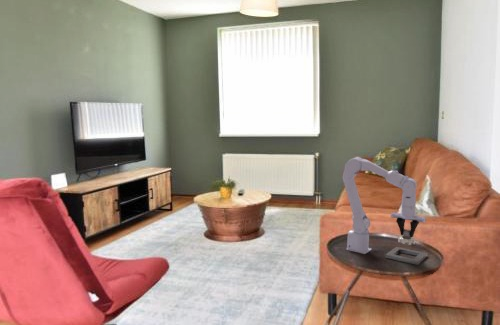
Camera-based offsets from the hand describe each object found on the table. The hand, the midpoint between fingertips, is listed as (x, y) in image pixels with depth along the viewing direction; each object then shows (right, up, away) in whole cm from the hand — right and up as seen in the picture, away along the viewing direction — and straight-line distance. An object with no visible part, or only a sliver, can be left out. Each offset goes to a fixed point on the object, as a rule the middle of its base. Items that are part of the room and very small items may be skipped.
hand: (407, 235), depth 183 cm
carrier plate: (0, -10, +1) cm, 10 cm away
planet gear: (0, -3, 0) cm, 3 cm away
